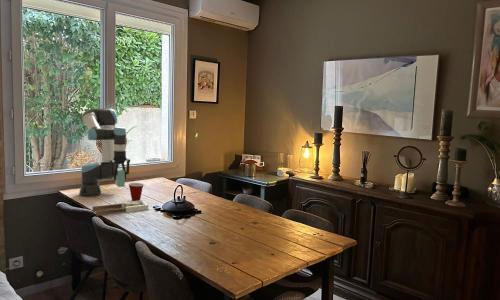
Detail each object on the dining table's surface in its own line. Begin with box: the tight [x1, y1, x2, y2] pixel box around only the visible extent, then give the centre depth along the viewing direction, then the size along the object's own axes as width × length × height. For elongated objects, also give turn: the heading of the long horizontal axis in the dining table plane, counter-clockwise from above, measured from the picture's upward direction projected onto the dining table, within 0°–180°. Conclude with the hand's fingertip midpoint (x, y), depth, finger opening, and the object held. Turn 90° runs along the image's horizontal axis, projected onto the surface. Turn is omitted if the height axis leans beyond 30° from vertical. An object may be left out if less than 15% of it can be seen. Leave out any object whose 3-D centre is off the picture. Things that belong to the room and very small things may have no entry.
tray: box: [121, 199, 149, 213], centre depth 255 cm, size 13×14×3 cm
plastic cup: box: [128, 182, 145, 202], centre depth 275 cm, size 11×11×12 cm
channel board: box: [92, 202, 127, 217], centre depth 247 cm, size 13×18×2 cm
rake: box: [116, 167, 126, 188], centre depth 258 cm, size 8×4×11 cm, turn 32°
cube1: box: [124, 201, 132, 208], centre depth 253 cm, size 4×4×4 cm
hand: (120, 184), depth 258 cm, fingers closed on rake, 4 cm apart
